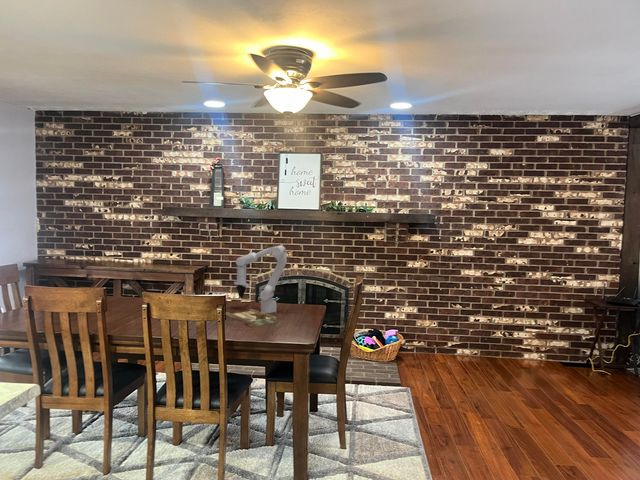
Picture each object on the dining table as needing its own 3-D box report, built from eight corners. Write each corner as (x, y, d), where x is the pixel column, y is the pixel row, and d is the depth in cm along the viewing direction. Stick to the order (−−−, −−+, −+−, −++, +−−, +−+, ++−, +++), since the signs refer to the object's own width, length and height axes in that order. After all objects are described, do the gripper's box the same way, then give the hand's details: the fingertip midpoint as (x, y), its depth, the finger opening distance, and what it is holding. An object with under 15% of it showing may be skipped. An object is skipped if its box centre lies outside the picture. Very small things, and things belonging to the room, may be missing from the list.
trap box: (250, 313, 277) (250, 308, 277) (276, 322, 257) (276, 317, 257) (225, 317, 265) (225, 312, 265) (250, 326, 245) (250, 321, 245)
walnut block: (261, 319, 256) (261, 312, 256) (265, 321, 253) (265, 314, 253) (255, 320, 253) (256, 313, 253) (259, 322, 250) (260, 315, 250)
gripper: (230, 274, 282) (229, 296, 282) (242, 277, 271) (241, 299, 272) (239, 274, 286) (239, 294, 287) (252, 277, 276) (251, 298, 276)
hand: (241, 297), depth 280 cm, fingers closed
